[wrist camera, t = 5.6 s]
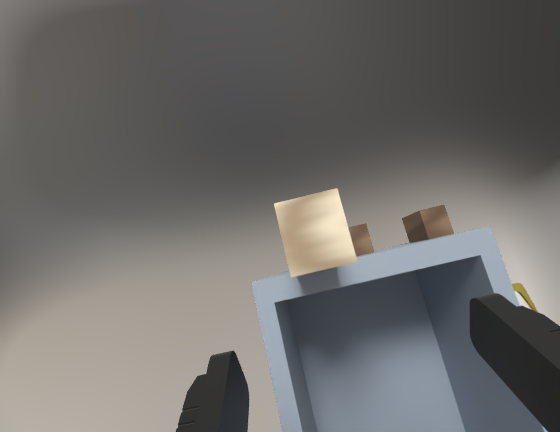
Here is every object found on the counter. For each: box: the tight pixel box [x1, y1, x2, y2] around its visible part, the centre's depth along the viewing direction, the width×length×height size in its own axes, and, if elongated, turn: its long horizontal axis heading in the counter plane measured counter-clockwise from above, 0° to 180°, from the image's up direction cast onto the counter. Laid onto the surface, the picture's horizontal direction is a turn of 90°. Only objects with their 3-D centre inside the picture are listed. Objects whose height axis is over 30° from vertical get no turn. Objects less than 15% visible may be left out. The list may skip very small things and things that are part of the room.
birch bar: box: [274, 189, 358, 277], centre depth 26 cm, size 4×22×4 cm, turn 176°
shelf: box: [252, 227, 548, 432], centre depth 28 cm, size 20×16×32 cm
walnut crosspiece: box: [348, 205, 454, 257], centre depth 31 cm, size 10×5×3 cm, turn 86°
